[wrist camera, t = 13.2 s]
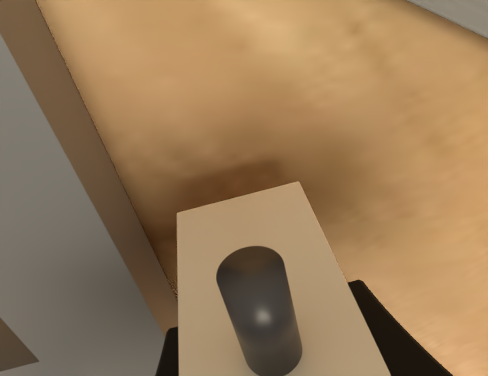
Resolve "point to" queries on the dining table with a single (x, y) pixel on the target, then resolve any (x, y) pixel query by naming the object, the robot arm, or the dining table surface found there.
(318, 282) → the plug
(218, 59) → the dining table surface
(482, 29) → the electrical outlet
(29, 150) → the power block
